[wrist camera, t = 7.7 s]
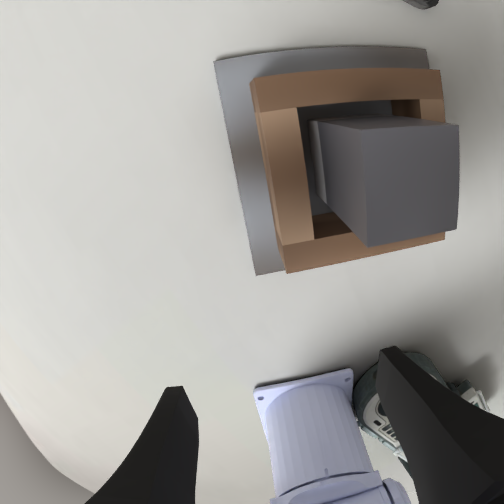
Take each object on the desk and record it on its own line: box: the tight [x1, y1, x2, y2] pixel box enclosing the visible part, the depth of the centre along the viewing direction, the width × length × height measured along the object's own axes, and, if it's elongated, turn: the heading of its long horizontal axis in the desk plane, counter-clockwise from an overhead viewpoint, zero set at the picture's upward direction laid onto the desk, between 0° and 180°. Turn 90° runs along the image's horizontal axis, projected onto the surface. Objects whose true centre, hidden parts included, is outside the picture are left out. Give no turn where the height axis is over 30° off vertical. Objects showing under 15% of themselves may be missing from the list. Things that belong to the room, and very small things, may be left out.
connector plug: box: [307, 114, 459, 248], centre depth 13 cm, size 4×4×7 cm
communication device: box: [352, 353, 490, 479], centre depth 24 cm, size 12×24×9 cm, turn 42°
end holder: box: [213, 46, 445, 276], centre depth 15 cm, size 12×12×4 cm
